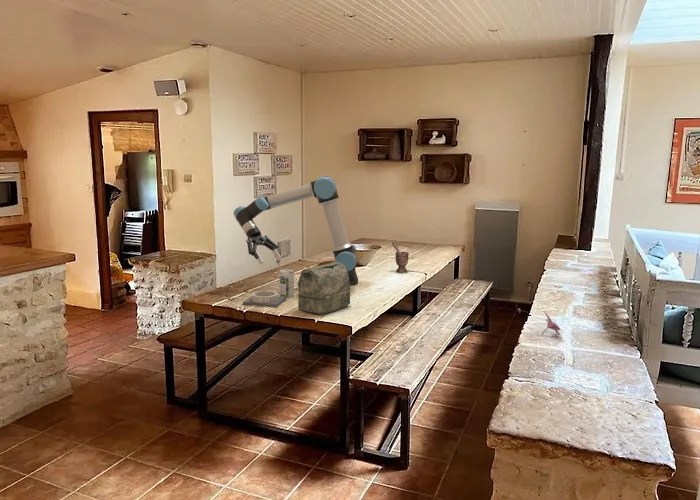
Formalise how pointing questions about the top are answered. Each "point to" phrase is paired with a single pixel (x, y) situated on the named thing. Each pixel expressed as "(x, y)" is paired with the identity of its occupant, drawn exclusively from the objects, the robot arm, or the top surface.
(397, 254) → the mortar and pestle
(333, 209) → the robot arm
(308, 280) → the lunch bag
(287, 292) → the syrup box
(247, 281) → the top surface
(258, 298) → the ring block
